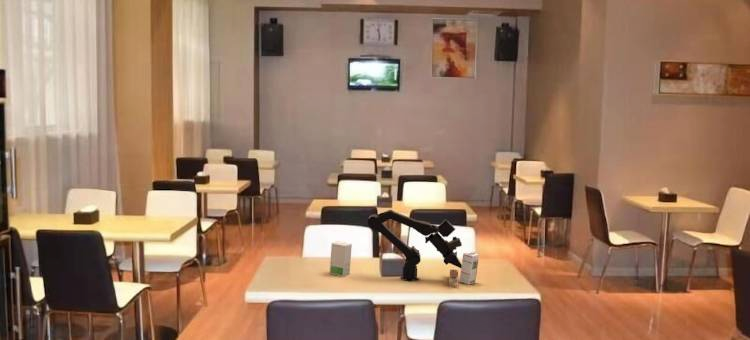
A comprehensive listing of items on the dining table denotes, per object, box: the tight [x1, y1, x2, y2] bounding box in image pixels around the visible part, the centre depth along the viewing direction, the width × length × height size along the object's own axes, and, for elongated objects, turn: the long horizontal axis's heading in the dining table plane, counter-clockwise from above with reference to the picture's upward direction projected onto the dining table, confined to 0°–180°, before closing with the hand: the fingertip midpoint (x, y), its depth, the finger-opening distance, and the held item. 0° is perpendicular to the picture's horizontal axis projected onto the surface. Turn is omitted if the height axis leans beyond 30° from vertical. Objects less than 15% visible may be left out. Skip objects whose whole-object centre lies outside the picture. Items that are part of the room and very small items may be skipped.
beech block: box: [448, 275, 459, 288], centre depth 327 cm, size 4×4×4 cm
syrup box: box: [459, 250, 480, 286], centre depth 332 cm, size 6×6×14 cm
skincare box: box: [329, 240, 353, 278], centre depth 339 cm, size 8×7×16 cm
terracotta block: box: [449, 269, 459, 278], centre depth 339 cm, size 4×4×4 cm
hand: (461, 267), depth 333 cm, fingers closed
